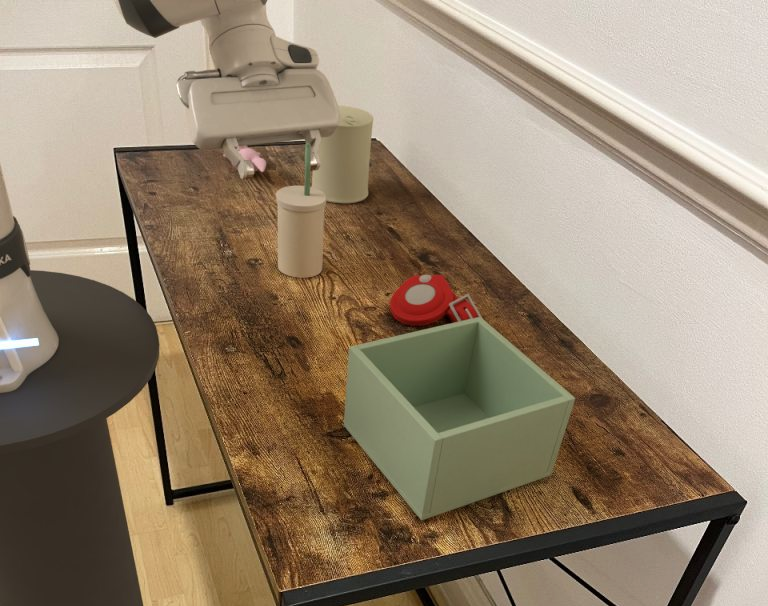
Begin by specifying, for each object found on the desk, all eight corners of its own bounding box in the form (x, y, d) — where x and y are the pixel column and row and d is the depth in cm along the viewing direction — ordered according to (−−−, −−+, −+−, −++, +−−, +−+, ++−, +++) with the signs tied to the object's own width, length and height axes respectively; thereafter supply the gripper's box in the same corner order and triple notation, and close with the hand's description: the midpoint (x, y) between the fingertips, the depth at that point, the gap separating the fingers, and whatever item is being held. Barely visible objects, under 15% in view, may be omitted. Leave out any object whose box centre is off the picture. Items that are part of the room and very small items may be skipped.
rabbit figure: (218, 164, 132) (239, 184, 121) (215, 125, 129) (236, 142, 117) (254, 162, 134) (278, 182, 123) (252, 124, 131) (276, 141, 119)
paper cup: (288, 282, 102) (289, 155, 91) (268, 260, 106) (267, 136, 95) (331, 274, 105) (337, 150, 94) (311, 253, 109) (314, 131, 98)
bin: (421, 520, 72) (435, 440, 66) (343, 425, 82) (348, 346, 75) (551, 475, 79) (575, 398, 72) (465, 391, 88) (480, 316, 81)
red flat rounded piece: (381, 317, 96) (395, 263, 101) (388, 343, 99) (401, 290, 105) (479, 315, 93) (489, 260, 98) (482, 342, 96) (491, 288, 102)
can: (325, 206, 121) (328, 124, 112) (301, 183, 126) (303, 103, 118) (378, 200, 124) (384, 120, 116) (352, 178, 130) (357, 100, 121)
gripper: (176, 57, 94) (211, 170, 95) (327, 49, 102) (358, 153, 103) (167, 86, 100) (200, 192, 101) (311, 77, 108) (340, 175, 109)
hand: (281, 172), depth 102 cm, fingers open, 8 cm apart
